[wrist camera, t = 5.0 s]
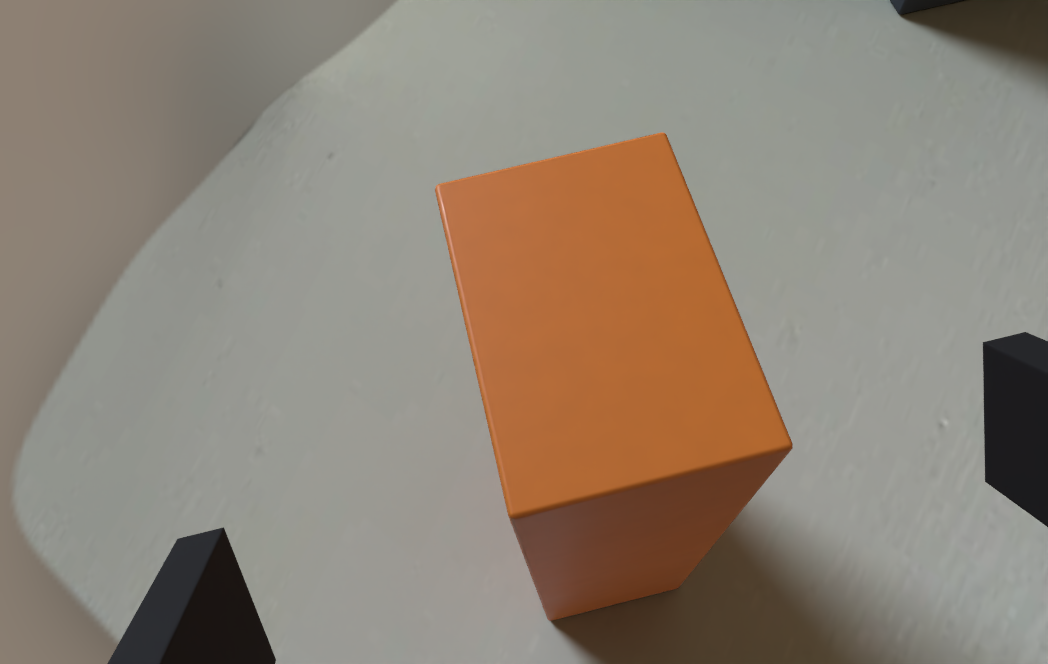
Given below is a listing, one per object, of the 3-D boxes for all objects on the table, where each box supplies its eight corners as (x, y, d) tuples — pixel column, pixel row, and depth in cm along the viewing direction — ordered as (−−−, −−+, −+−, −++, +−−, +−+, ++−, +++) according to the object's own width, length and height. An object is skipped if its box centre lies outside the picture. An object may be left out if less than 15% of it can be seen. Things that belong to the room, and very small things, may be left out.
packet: (548, 621, 20) (509, 519, 9) (506, 440, 22) (433, 183, 11) (680, 588, 20) (796, 448, 9) (624, 410, 22) (666, 128, 11)
